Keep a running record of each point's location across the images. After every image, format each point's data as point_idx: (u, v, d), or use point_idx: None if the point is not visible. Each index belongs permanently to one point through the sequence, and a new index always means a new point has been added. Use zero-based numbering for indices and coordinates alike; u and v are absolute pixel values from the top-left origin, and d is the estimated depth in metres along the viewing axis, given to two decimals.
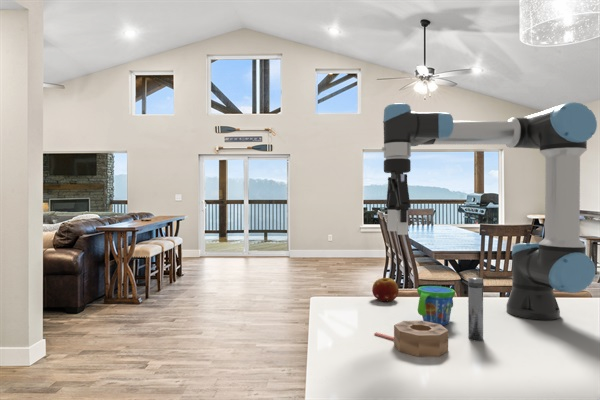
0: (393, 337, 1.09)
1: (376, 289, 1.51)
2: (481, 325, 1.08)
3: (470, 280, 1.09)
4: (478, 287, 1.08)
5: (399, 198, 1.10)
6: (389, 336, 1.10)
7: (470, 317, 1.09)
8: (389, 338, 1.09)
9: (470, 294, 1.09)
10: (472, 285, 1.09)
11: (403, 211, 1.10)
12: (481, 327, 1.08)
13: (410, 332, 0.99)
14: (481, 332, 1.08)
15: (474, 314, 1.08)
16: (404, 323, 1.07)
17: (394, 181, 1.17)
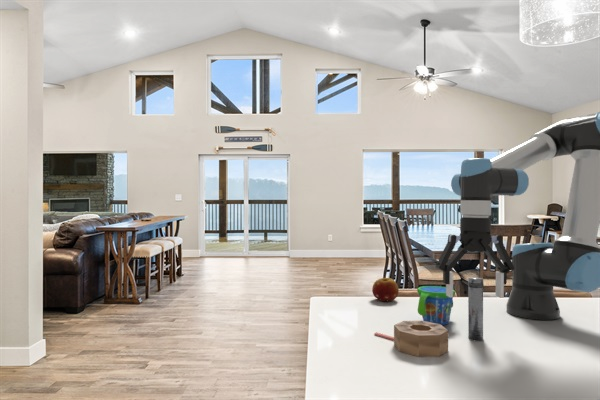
0: (393, 337, 1.09)
1: (376, 289, 1.51)
2: (481, 325, 1.08)
3: (470, 280, 1.09)
4: (478, 287, 1.08)
5: None
6: (389, 336, 1.10)
7: (470, 317, 1.09)
8: (389, 338, 1.09)
9: (470, 294, 1.09)
10: (472, 285, 1.09)
11: (443, 272, 1.10)
12: (481, 327, 1.08)
13: (410, 332, 0.99)
14: (481, 332, 1.08)
15: (474, 314, 1.08)
16: (404, 323, 1.07)
17: None
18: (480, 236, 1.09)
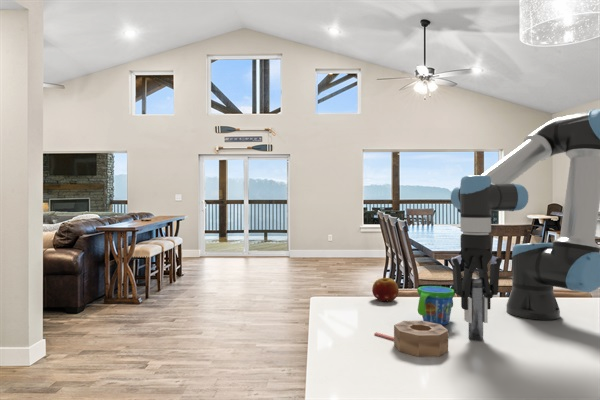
0: (393, 337, 1.09)
1: (376, 289, 1.51)
2: (481, 325, 1.08)
3: None
4: (478, 287, 1.08)
5: None
6: (389, 336, 1.10)
7: None
8: (389, 338, 1.09)
9: (470, 294, 1.09)
10: (472, 285, 1.09)
11: (461, 297, 1.10)
12: (481, 327, 1.08)
13: (410, 332, 0.99)
14: (481, 332, 1.08)
15: (474, 314, 1.08)
16: (404, 323, 1.07)
17: None
18: (483, 249, 1.09)
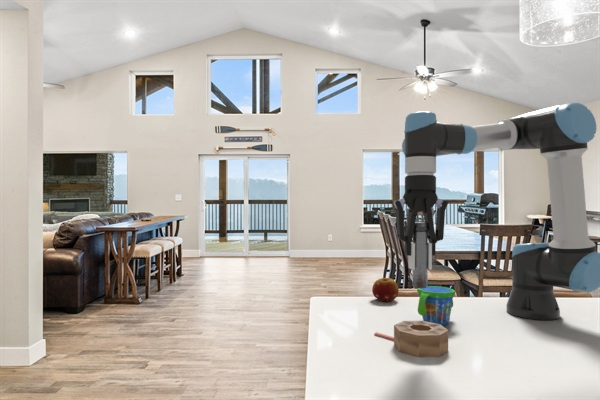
0: (393, 337, 1.09)
1: (376, 289, 1.51)
2: (425, 271, 1.02)
3: None
4: (422, 231, 1.01)
5: None
6: (389, 336, 1.10)
7: None
8: (389, 338, 1.09)
9: (414, 239, 1.03)
10: (415, 229, 1.02)
11: (405, 243, 1.03)
12: (425, 273, 1.02)
13: (410, 332, 0.99)
14: (425, 279, 1.02)
15: (417, 260, 1.02)
16: (404, 323, 1.07)
17: None
18: (427, 191, 1.02)
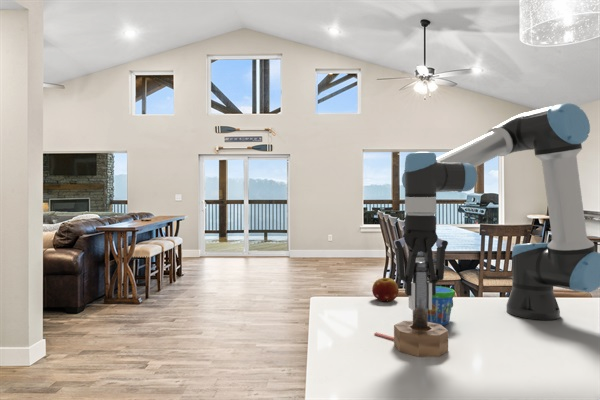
0: (393, 337, 1.09)
1: (376, 289, 1.51)
2: (425, 312, 1.02)
3: None
4: (422, 271, 1.01)
5: None
6: (389, 336, 1.10)
7: None
8: (389, 338, 1.09)
9: (414, 279, 1.03)
10: (416, 269, 1.02)
11: (405, 283, 1.03)
12: (425, 314, 1.02)
13: (410, 332, 0.99)
14: (425, 319, 1.02)
15: (418, 300, 1.02)
16: (404, 323, 1.07)
17: None
18: (427, 231, 1.02)
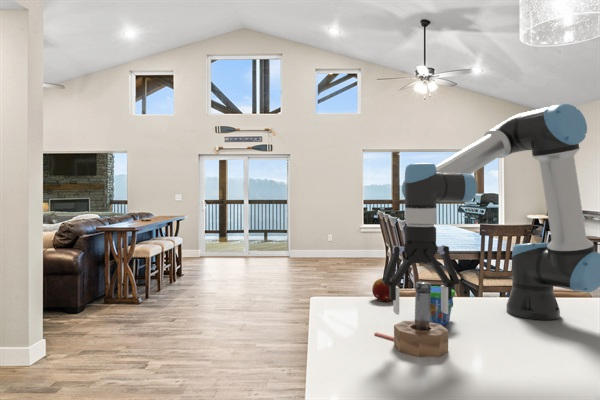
0: (393, 337, 1.09)
1: (376, 289, 1.51)
2: None
3: (417, 285, 1.03)
4: (425, 292, 1.01)
5: None
6: (389, 336, 1.10)
7: (416, 324, 1.03)
8: (389, 338, 1.09)
9: (416, 300, 1.03)
10: (419, 290, 1.02)
11: (389, 287, 1.03)
12: None
13: (410, 332, 0.99)
14: None
15: (420, 321, 1.02)
16: (404, 323, 1.07)
17: None
18: (425, 245, 1.02)
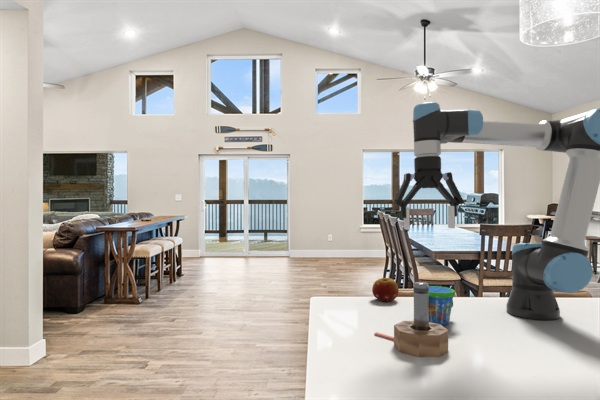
0: (393, 337, 1.09)
1: (376, 289, 1.51)
2: None
3: (415, 285, 1.03)
4: (423, 293, 1.01)
5: None
6: (389, 336, 1.10)
7: (415, 325, 1.02)
8: (389, 338, 1.09)
9: (415, 300, 1.03)
10: (416, 291, 1.02)
11: (400, 208, 1.21)
12: None
13: (410, 332, 0.99)
14: None
15: (419, 321, 1.02)
16: (404, 323, 1.07)
17: None
18: (432, 173, 1.20)
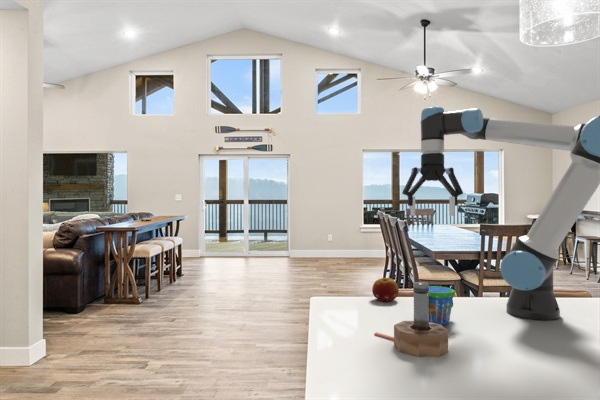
0: (393, 337, 1.09)
1: (376, 289, 1.51)
2: None
3: (415, 285, 1.03)
4: (423, 293, 1.01)
5: None
6: (389, 336, 1.10)
7: (415, 325, 1.02)
8: (389, 338, 1.09)
9: (415, 300, 1.02)
10: (416, 291, 1.02)
11: (408, 197, 1.41)
12: None
13: (410, 332, 0.99)
14: None
15: (419, 321, 1.02)
16: (404, 323, 1.07)
17: None
18: (436, 168, 1.40)
